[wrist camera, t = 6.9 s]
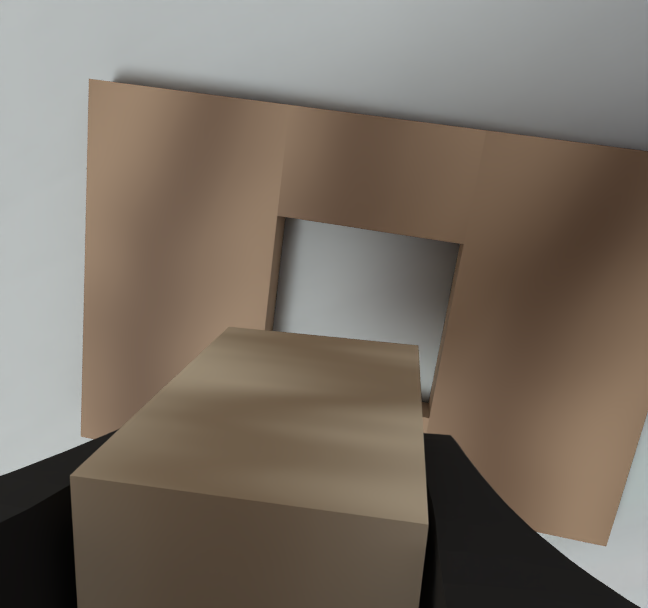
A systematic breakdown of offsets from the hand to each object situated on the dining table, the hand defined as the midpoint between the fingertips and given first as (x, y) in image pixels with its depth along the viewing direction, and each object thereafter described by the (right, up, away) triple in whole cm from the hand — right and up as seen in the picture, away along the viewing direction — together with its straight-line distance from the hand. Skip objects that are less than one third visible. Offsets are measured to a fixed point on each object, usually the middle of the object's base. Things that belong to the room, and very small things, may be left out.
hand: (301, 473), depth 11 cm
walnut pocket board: (+2, +3, +8) cm, 9 cm away
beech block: (0, +1, +2) cm, 2 cm away
